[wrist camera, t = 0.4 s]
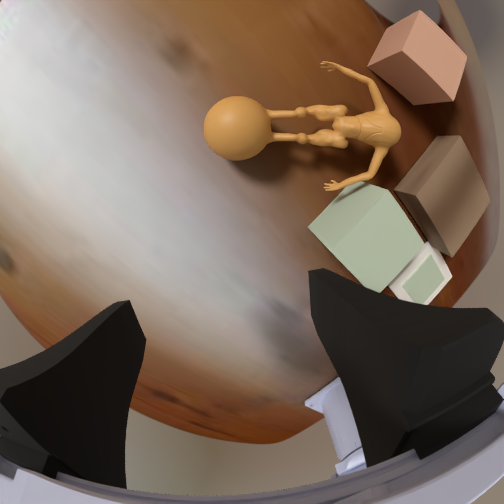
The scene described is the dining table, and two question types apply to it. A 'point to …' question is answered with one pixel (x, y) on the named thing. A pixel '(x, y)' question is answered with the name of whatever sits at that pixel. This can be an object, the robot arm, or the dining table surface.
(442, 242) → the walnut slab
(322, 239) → the sage block
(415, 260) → the swatch
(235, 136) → the figurine
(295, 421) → the dining table surface
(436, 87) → the terracotta block
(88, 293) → the dining table surface
